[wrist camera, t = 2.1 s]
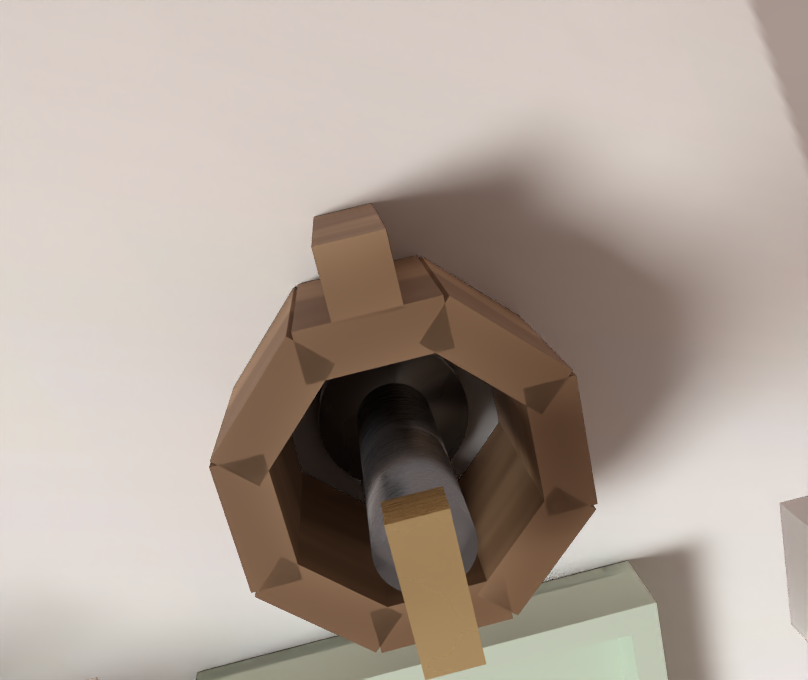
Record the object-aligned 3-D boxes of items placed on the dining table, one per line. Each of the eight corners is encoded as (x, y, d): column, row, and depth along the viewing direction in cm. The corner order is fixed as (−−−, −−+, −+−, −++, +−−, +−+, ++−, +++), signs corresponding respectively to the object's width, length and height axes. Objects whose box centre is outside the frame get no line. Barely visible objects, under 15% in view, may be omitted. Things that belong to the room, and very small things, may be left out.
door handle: (302, 359, 24) (290, 503, 15) (447, 323, 25) (521, 445, 16) (340, 495, 26) (350, 699, 17) (477, 460, 26) (560, 644, 17)
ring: (187, 247, 23) (148, 286, 18) (495, 173, 23) (545, 190, 18) (288, 567, 27) (280, 679, 21) (555, 499, 27) (612, 592, 22)
